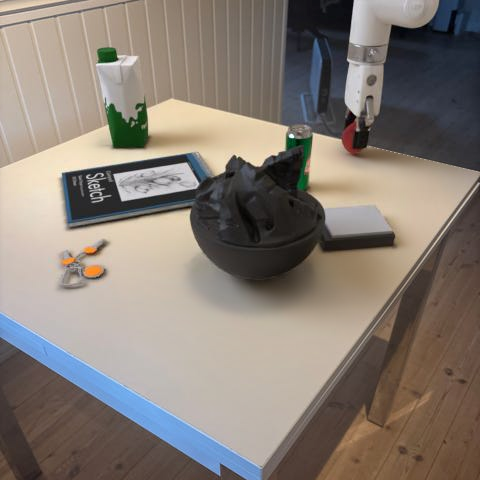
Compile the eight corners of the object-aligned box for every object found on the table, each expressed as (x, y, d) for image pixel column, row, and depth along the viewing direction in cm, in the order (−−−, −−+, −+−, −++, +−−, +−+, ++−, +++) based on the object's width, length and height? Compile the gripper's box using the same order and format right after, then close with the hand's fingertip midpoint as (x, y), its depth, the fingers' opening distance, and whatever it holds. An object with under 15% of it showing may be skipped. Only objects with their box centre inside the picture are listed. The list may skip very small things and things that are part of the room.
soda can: (309, 193, 97) (314, 133, 89) (283, 193, 97) (286, 133, 89) (307, 182, 101) (312, 123, 93) (282, 182, 101) (285, 123, 93)
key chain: (102, 284, 75) (100, 280, 75) (53, 288, 75) (51, 284, 74) (108, 240, 85) (107, 236, 84) (65, 243, 84) (64, 239, 83)
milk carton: (117, 135, 121) (100, 44, 107) (153, 135, 120) (141, 44, 107) (108, 149, 114) (89, 54, 101) (146, 149, 114) (133, 54, 100)
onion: (371, 156, 109) (377, 120, 104) (351, 162, 107) (356, 125, 102) (354, 147, 113) (359, 112, 108) (334, 152, 111) (338, 117, 106)
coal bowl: (191, 309, 71) (179, 190, 58) (197, 235, 86) (188, 127, 73) (328, 306, 71) (345, 186, 59) (310, 232, 86) (321, 125, 73)
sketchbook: (62, 178, 103) (60, 169, 102) (199, 158, 110) (199, 149, 109) (69, 228, 88) (66, 218, 87) (228, 201, 95) (227, 191, 93)
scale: (373, 215, 90) (376, 203, 88) (393, 245, 83) (396, 232, 81) (308, 220, 89) (309, 207, 87) (322, 251, 82) (324, 237, 80)
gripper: (401, 63, 90) (384, 157, 102) (371, 41, 103) (359, 127, 115) (362, 65, 90) (349, 159, 102) (336, 43, 103) (328, 129, 115)
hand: (354, 141), depth 108 cm, fingers closed on onion, 5 cm apart
